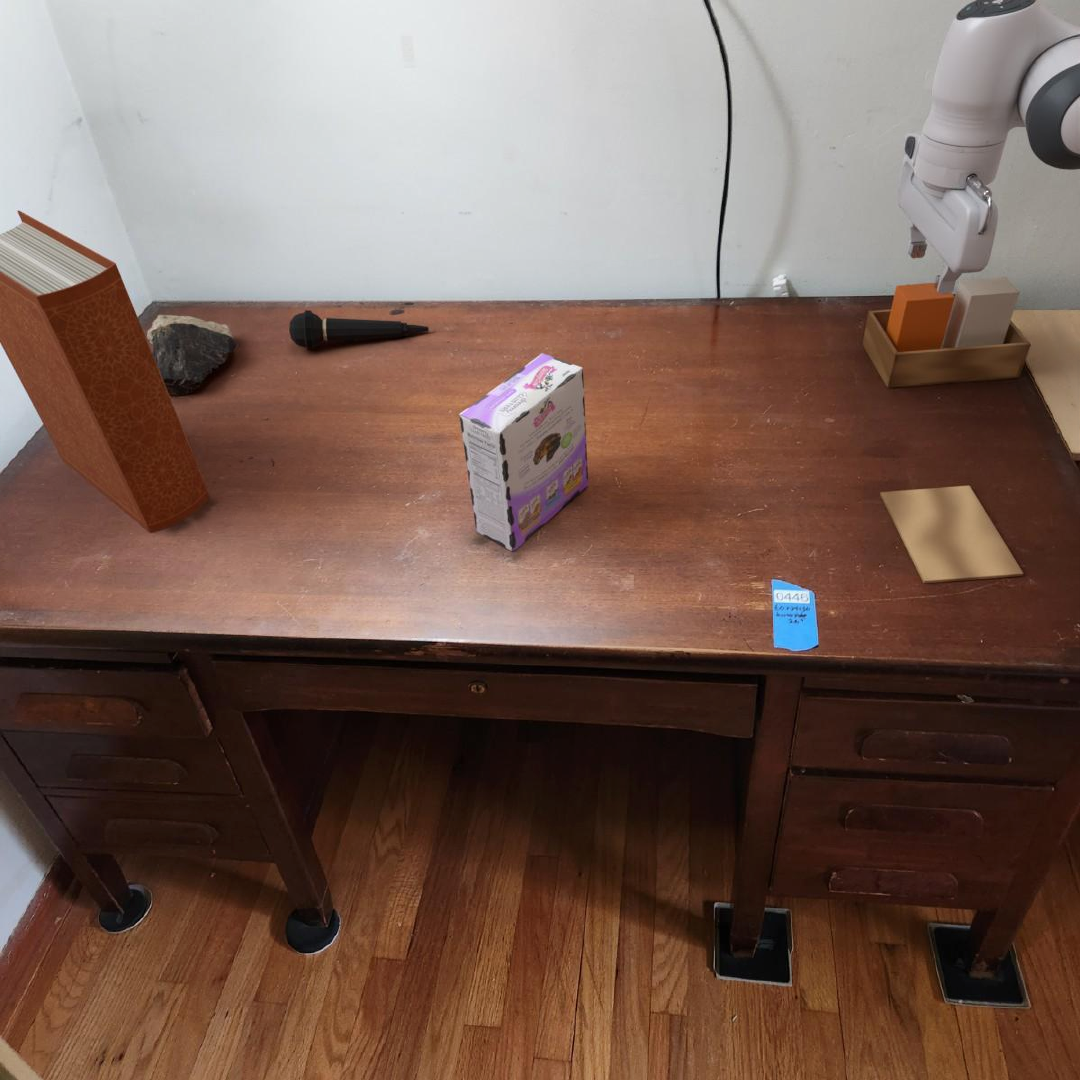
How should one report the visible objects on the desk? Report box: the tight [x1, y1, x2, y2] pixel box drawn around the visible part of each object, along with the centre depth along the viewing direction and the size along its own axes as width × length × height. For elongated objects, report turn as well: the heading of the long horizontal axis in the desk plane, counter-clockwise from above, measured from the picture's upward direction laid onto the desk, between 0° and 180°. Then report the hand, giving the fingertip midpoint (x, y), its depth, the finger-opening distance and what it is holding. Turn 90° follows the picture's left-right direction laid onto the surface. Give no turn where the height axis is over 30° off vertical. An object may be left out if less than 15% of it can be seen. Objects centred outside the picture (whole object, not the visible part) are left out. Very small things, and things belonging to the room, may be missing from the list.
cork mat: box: [879, 485, 1024, 584], centre depth 97 cm, size 10×14×1 cm
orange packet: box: [886, 282, 955, 352], centre depth 118 cm, size 6×4×10 cm, turn 92°
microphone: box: [288, 309, 429, 351], centre depth 133 cm, size 6×6×20 cm
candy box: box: [458, 352, 589, 552], centre depth 99 cm, size 14×6×16 cm, turn 141°
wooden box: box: [861, 308, 1032, 389], centre depth 120 cm, size 17×11×5 cm, turn 92°
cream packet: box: [941, 276, 1020, 349], centre depth 118 cm, size 6×4×10 cm, turn 92°
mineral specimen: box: [146, 314, 238, 397], centre depth 129 cm, size 13×7×15 cm
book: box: [0, 210, 211, 534], centre depth 103 cm, size 23×8×30 cm, turn 47°
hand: (928, 273), depth 113 cm, fingers open, 8 cm apart
